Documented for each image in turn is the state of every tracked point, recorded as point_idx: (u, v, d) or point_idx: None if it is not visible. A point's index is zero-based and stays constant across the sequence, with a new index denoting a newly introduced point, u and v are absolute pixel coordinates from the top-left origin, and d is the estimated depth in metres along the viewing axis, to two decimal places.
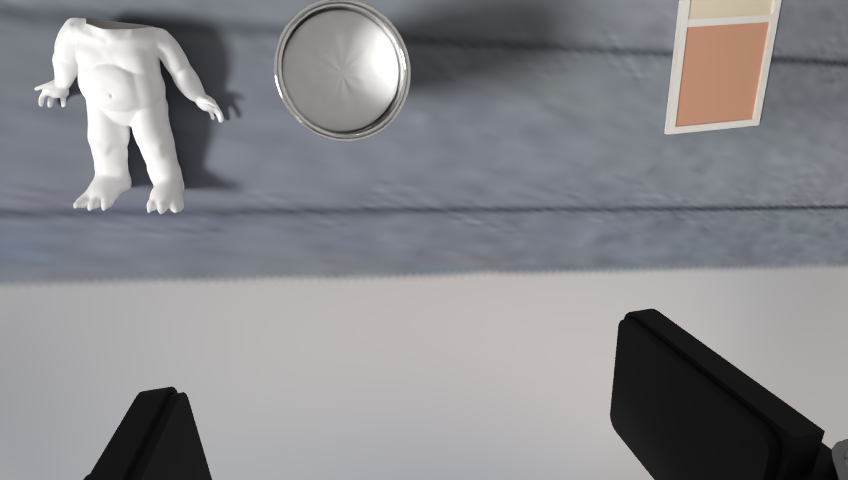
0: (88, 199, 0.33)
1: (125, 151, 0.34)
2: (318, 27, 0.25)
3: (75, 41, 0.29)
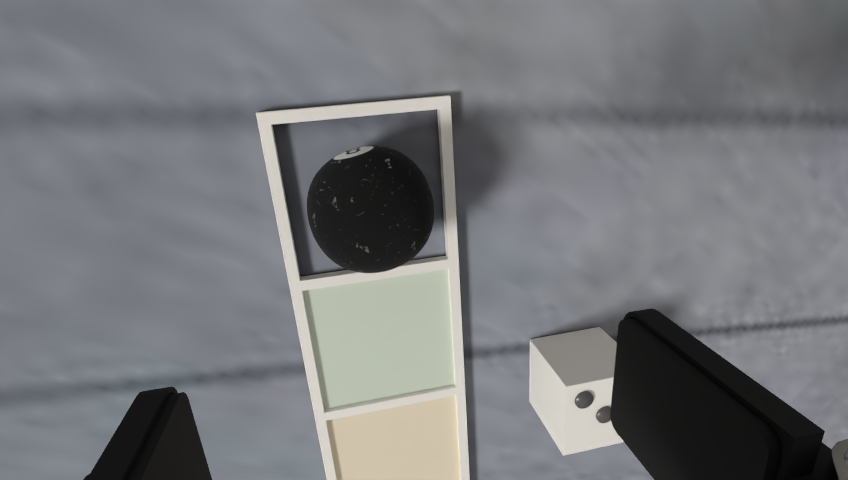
0: None
1: None
2: None
3: None
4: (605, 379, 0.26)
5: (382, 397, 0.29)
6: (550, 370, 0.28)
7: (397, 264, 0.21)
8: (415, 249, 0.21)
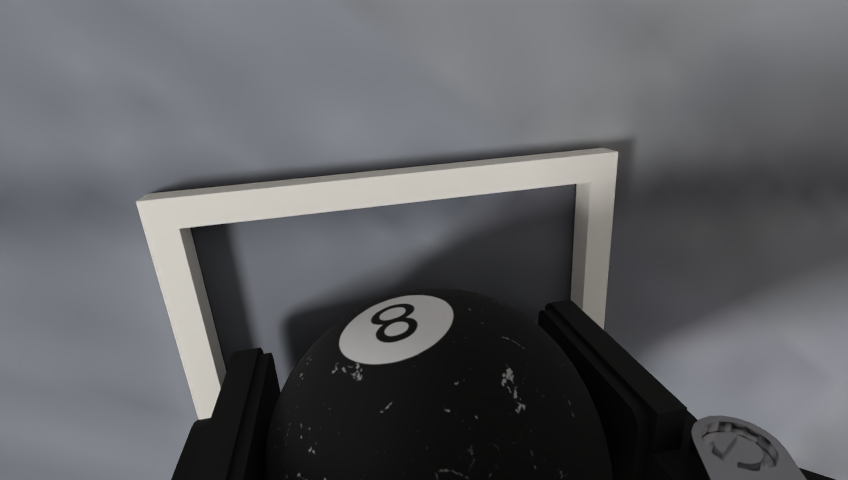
0: None
1: None
2: None
3: None
4: None
5: None
6: None
7: None
8: None
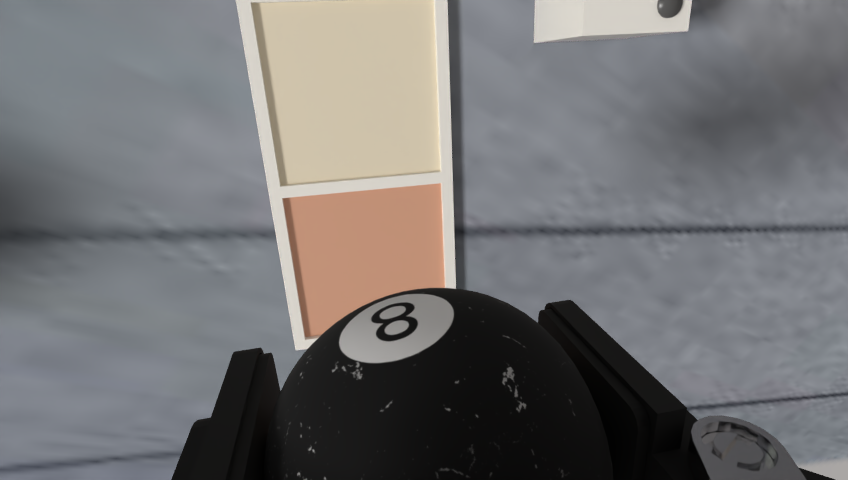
0: None
1: None
2: None
3: None
4: None
5: None
6: None
7: None
8: None
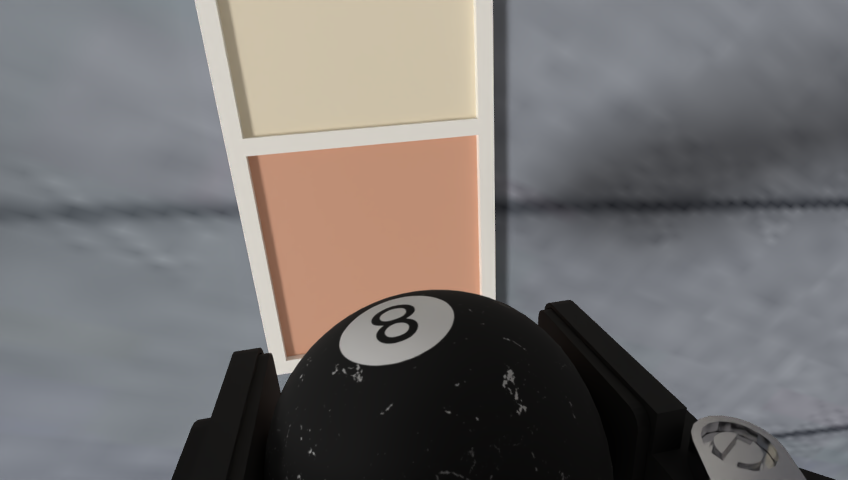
0: None
1: None
2: None
3: None
4: None
5: None
6: None
7: None
8: None
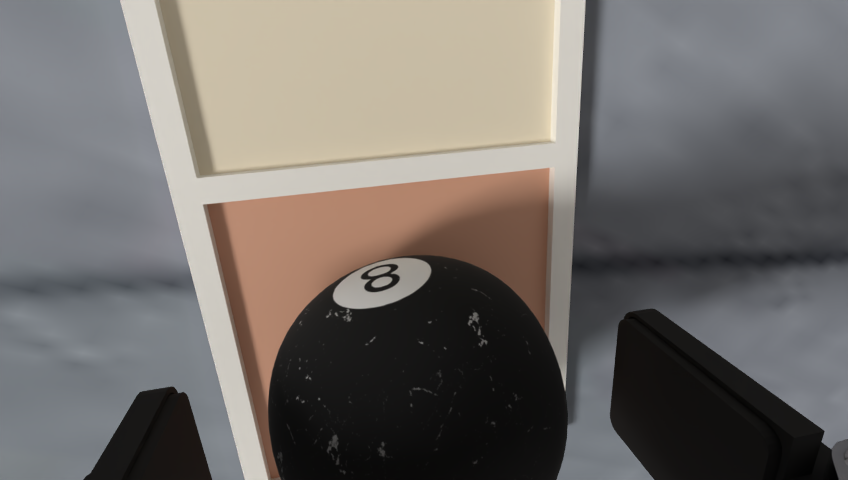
0: None
1: None
2: None
3: None
4: None
5: None
6: None
7: None
8: None
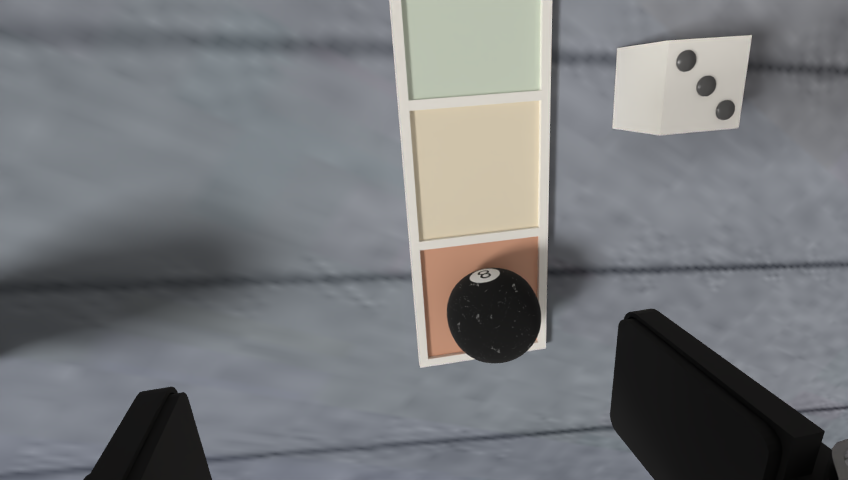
0: None
1: None
2: None
3: None
4: (709, 39, 0.25)
5: (466, 94, 0.29)
6: (645, 49, 0.27)
7: (515, 358, 0.29)
8: (529, 348, 0.29)
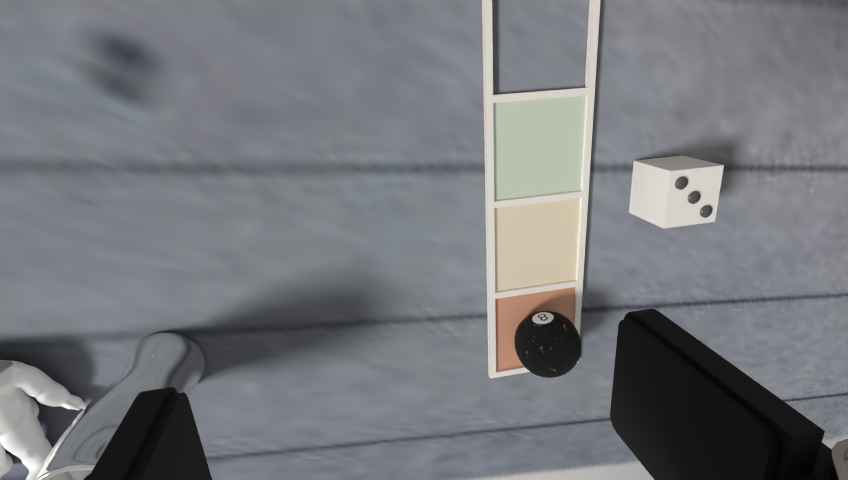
0: None
1: None
2: None
3: None
4: (696, 169, 0.39)
5: (531, 195, 0.42)
6: (654, 170, 0.40)
7: (563, 374, 0.43)
8: None
